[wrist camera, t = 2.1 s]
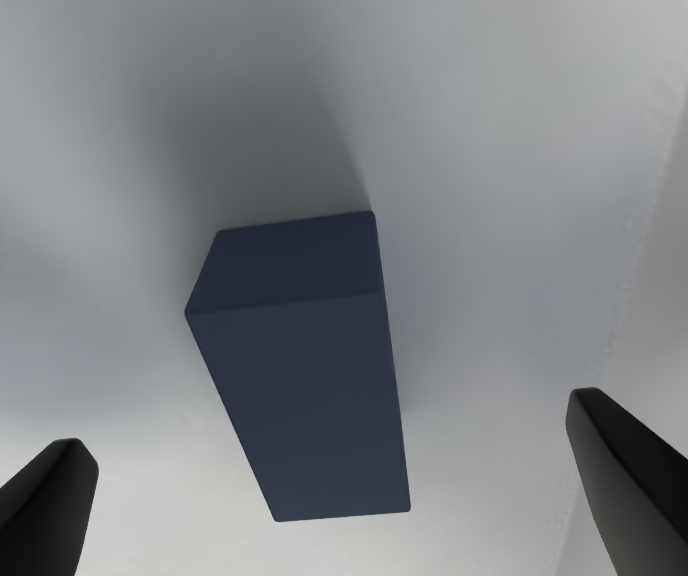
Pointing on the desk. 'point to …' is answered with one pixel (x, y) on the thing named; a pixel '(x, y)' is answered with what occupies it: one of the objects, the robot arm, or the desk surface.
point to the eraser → (306, 363)
